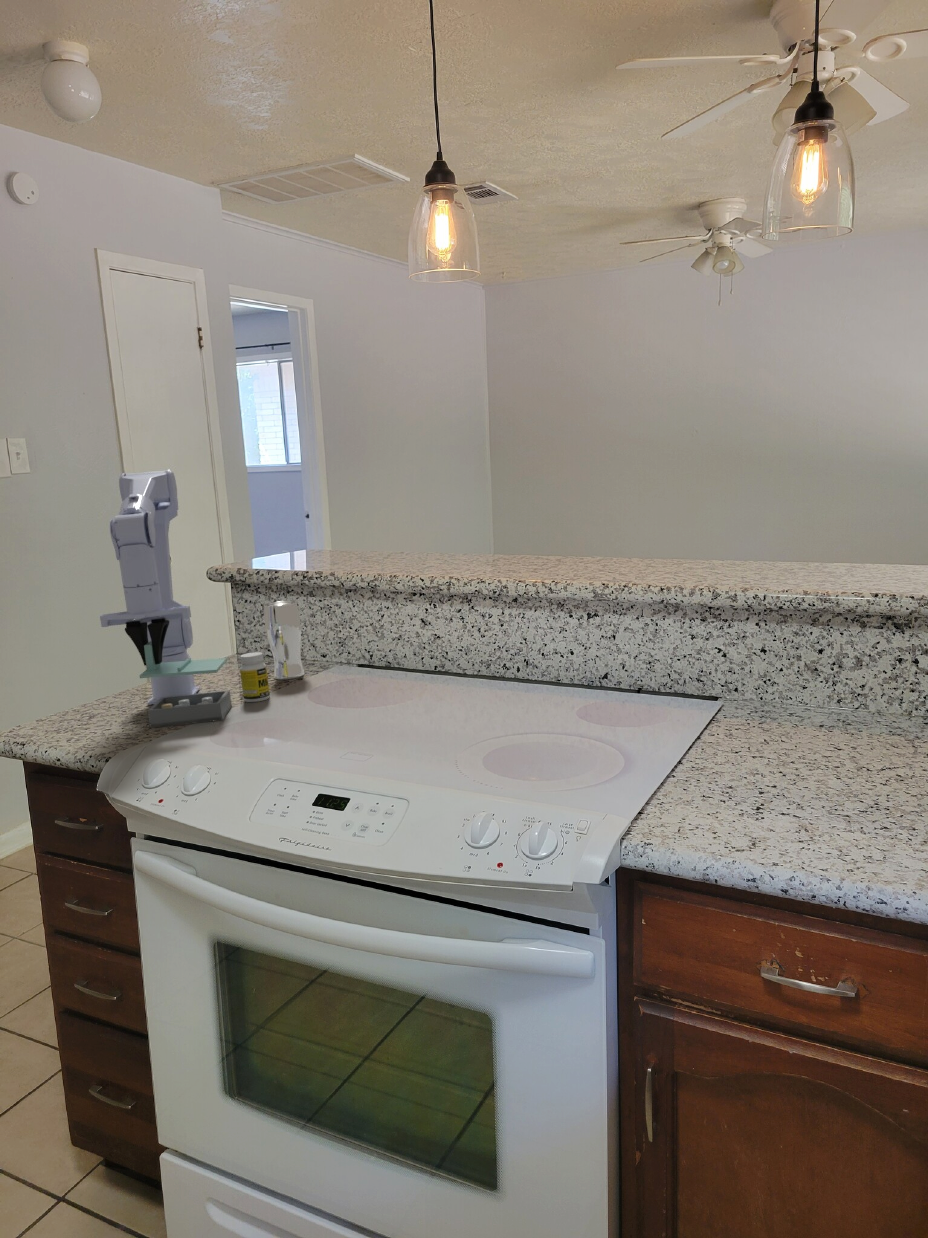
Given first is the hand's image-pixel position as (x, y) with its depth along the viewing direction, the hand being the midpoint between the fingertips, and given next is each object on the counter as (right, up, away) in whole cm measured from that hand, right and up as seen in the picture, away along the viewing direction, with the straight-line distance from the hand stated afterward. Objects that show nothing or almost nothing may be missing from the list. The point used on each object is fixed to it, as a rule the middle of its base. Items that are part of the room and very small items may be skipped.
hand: (153, 663), depth 151 cm
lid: (+5, -1, +1) cm, 5 cm away
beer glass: (+18, -4, +28) cm, 33 cm away
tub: (+6, -9, +2) cm, 11 cm away
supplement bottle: (+15, -7, +11) cm, 20 cm away
